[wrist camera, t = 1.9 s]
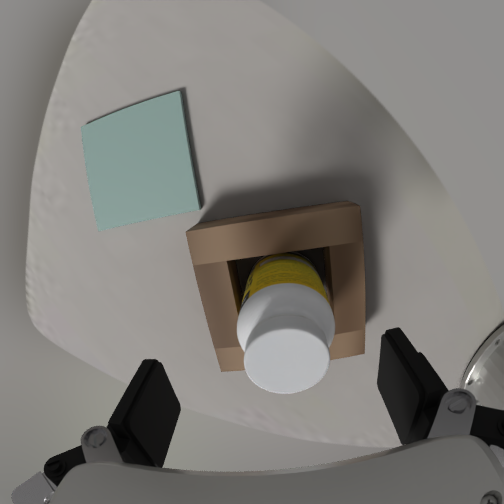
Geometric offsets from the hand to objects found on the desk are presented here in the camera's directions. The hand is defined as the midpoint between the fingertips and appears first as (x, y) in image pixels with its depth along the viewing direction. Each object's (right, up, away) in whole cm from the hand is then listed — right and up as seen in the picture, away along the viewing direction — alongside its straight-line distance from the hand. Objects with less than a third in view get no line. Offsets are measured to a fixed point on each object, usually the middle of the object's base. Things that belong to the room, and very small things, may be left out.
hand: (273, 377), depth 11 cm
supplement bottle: (+2, +3, +11) cm, 11 cm away
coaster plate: (-10, +12, +9) cm, 18 cm away
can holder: (+1, +3, +11) cm, 11 cm away
